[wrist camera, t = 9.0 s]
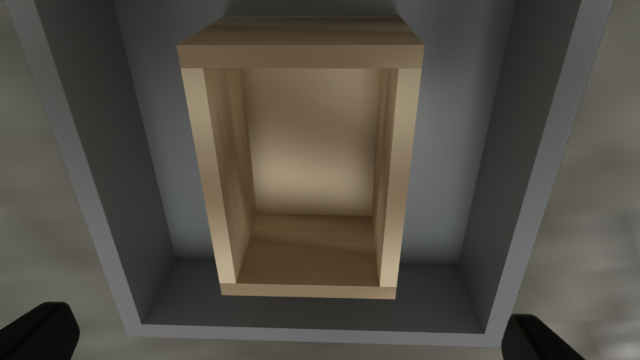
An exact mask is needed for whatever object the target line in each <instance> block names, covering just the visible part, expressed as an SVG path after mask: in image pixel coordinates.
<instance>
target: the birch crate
mask: <svg viewBox="0 0 640 360" xmlns="http://www.w3.org/2000/svg"><path fill="white" fill-rule="evenodd" d="M177 51H178V56H179V62H180V67H181V73H182V78H183V84H184V89H185V95H186V100H187V106H188V111H189V117H190V122H191V128H192V133H193V139H194V144H195V150H196V156H197V161H198V167H199V172H200V178H201V183H202V189H203V194H204V200H205V205H206V211H207V216H208V222H209V227H210V233H211V238H212V244H213V249H214V255H215V260H216V266H217V271H218V277H219V282H220V288H221V293H222V295H239V296H282V297H324V298H366V299H395V296H396V287H397V279H398V270H399V261H400V253H401V244H402V235H403V227H404V218H405V209H406V201H407V192H408V183H409V175H410V166H411V158H412V149H413V140H414V132H415V123H416V114H417V106H418V97H419V88H420V80H421V71H422V62H423V54H424V44H423V43H422V41H421V40H420V39H419V38H418V37H417V36H416V34H415V33H414V32H413V31H412V30H411V28H410V27H409V26H408V25H407V24H406V23H405V21H404V20H403V19H402V18H401V17H400V16H399V15H370V16H223V17H221V18H220V19H218V20H217V21H215V22H213V23H212V24H210V25H209V26H207V27H205V28H204V29H202V30H200V31H199V32H197V33H196V34H194V35H192V36H191V37H189V38H187V39H186V40H184V41H183V42H181V43H179V44H178V45H177Z"/></svg>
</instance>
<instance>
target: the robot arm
mask: <svg viewBox="0 0 640 360" xmlns="http://www.w3.org/2000/svg"><path fill="white" fill-rule="evenodd" d="M79 335H80V330H79V326H78V324H77V322H76V319H75V317H74V315H73V313H72V311H71V308H70V306H69V305H68V304H67V303H65V302H44V303H42V304H40V305H39V306H37V307H35V308H34V309H32V310H31V311H29V312H28V313H26V314H24V315H23V316H21V317H20V318H18V319H17V320H15V321H13V322H12V323H10V324H9V325H7V326H6V327H4V328H2V329H1V330H0V360H71V357H72V355H73V352H74V350H75V348H76V345H77V343H78V340H79ZM501 349H502V355H503V359H504V360H585V359H584V358H583V357H582V356H581V355H580V354H579V353H577V352H576V351H575V350H574V349H573V348H572V347H571V346H569V345H568V344H567V343H566V342H565V341H564V340H563V339H561V338H560V337H559V336H558V335H557V334H556V333H555V332H553V331H552V330H551V329H550V328H549V327H548V326H547V325H545V324H544V323H543V322H542V321H541V320H540V319H539V318H537V317H536V316H534V315H532V314H512V315H511V316H510V318H509V320H508V323H507V326H506V329H505V332H504V335H503V338H502V343H501Z"/></svg>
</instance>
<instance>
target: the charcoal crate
mask: <svg viewBox="0 0 640 360" xmlns="http://www.w3.org/2000/svg"><path fill="white" fill-rule="evenodd" d="M613 1H614V0H5V2H6V4H7V7H8V10H9V13H10V15H11V18H12V21H13V24H14V26H15V29H16V32H17V35H18V37H19V40H20V43H21V46H22V48H23V51H24V54H25V56H26V59H27V62H28V65H29V67H30V70H31V73H32V76H33V78H34V81H35V84H36V87H37V89H38V92H39V95H40V98H41V100H42V103H43V106H44V109H45V111H46V114H47V117H48V120H49V122H50V125H51V128H52V131H53V133H54V136H55V139H56V142H57V144H58V147H59V150H60V152H61V155H62V158H63V161H64V163H65V166H66V169H67V172H68V174H69V177H70V180H71V183H72V185H73V188H74V191H75V194H76V196H77V199H78V202H79V205H80V207H81V210H82V213H83V216H84V218H85V221H86V224H87V227H88V229H89V232H90V235H91V238H92V240H93V243H94V246H95V248H96V251H97V254H98V257H99V259H100V262H101V265H102V268H103V270H104V273H105V276H106V279H107V281H108V284H109V287H110V290H111V292H112V295H113V298H114V301H115V303H116V306H117V309H118V312H119V314H120V317H121V320H122V323H123V325H124V328H125V331H126V334H127V336H131V337H165V338H198V339H232V340H265V341H299V342H333V343H366V344H400V345H433V346H467V347H500V346H501V343H502V338H503V335H504V332H505V329H506V326H507V323H508V320H509V318H510V316H511V313H512V310H513V307H514V304H515V301H516V298H517V295H518V291H519V288H520V285H521V282H522V279H523V276H524V273H525V270H526V267H527V264H528V261H529V258H530V255H531V252H532V249H533V246H534V243H535V240H536V236H537V233H538V230H539V227H540V224H541V221H542V218H543V215H544V212H545V209H546V206H547V203H548V200H549V197H550V194H551V191H552V188H553V185H554V182H555V178H556V175H557V172H558V169H559V166H560V163H561V160H562V157H563V154H564V151H565V148H566V145H567V142H568V139H569V136H570V133H571V130H572V127H573V123H574V120H575V117H576V114H577V111H578V108H579V105H580V102H581V99H582V96H583V93H584V90H585V87H586V84H587V81H588V78H589V75H590V72H591V69H592V65H593V62H594V59H595V56H596V53H597V50H598V47H599V44H600V41H601V38H602V35H603V32H604V29H605V26H606V23H607V20H608V17H609V14H610V10H611V7H612V4H613ZM370 15H399V16H400V17H401V18H402V19H403V20H404V21H405V23H406V24H407V25H408V26H409V27H410V28H411V30H412V31H413V32H414V33H415V34H416V36H417V37H418V38H419V39H420V40H421V41H422V43H423V44H424V54H423V62H422V71H421V80H420V88H419V97H418V106H417V114H416V123H415V132H414V140H413V149H412V158H411V166H410V175H409V183H408V192H407V201H406V209H405V218H404V227H403V235H402V244H401V253H400V261H399V270H398V279H397V287H396V296H395V299H366V298H324V297H282V296H239V295H222V293H221V288H220V282H219V277H218V271H217V266H216V260H215V255H214V249H213V244H212V238H211V233H210V227H209V222H208V216H207V211H206V205H205V200H204V194H203V189H202V183H201V178H200V172H199V167H198V161H197V156H196V150H195V144H194V139H193V133H192V128H191V122H190V117H189V111H188V106H187V100H186V95H185V89H184V84H183V78H182V73H181V67H180V62H179V56H178V51H177V45H178V44H179V43H181V42H183V41H184V40H186V39H187V38H189V37H191V36H192V35H194V34H196V33H197V32H199V31H200V30H202V29H204V28H205V27H207V26H209V25H210V24H212V23H213V22H215V21H217V20H218V19H220V18H221V17H223V16H370Z"/></svg>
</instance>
